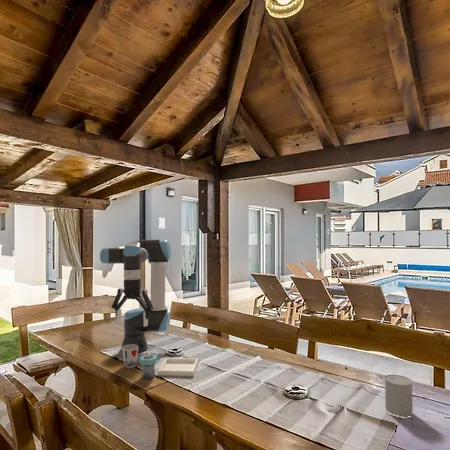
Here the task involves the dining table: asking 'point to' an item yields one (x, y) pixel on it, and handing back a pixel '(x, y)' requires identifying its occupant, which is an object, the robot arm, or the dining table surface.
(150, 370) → the grey bottle
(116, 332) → the dining table surface
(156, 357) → the ring
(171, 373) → the tray
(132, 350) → the cup
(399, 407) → the grey cylinder
